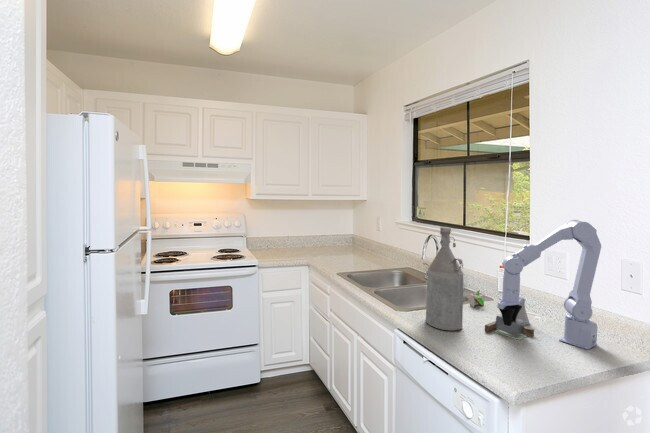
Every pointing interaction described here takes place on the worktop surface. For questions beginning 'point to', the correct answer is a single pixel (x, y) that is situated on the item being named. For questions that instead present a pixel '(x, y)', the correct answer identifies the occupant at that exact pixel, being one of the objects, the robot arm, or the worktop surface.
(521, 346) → the worktop surface
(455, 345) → the worktop surface
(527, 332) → the grey and brown piece
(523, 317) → the flask
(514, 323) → the bracket
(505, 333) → the pad
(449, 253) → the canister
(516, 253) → the robot arm
